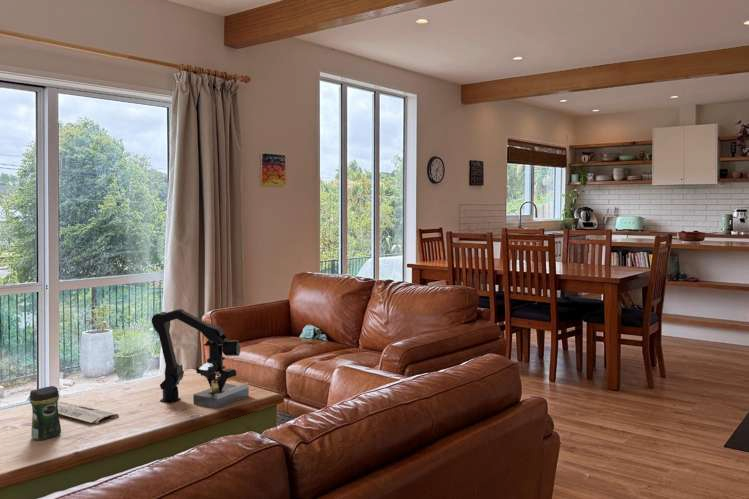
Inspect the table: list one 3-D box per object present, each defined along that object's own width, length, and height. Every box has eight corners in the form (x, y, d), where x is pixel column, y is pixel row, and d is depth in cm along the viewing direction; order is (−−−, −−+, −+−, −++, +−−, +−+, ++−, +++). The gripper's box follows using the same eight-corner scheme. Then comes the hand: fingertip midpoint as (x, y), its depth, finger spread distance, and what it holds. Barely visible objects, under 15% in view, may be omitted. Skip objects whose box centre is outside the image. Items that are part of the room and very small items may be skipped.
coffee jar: (54, 430, 246) (52, 383, 245) (64, 435, 241) (62, 386, 240) (28, 437, 239) (26, 388, 237) (37, 442, 234) (35, 392, 233)
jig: (193, 403, 279) (193, 389, 279) (225, 391, 296) (225, 378, 296) (217, 408, 272) (217, 394, 272) (248, 396, 290) (248, 383, 289)
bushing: (209, 395, 281) (208, 379, 280) (216, 392, 284) (216, 377, 284) (216, 397, 279) (216, 381, 278) (223, 394, 282) (223, 378, 282)
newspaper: (118, 418, 262) (118, 409, 262) (92, 427, 251) (92, 418, 251) (61, 405, 278) (61, 397, 278) (35, 413, 267) (34, 405, 267)
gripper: (186, 356, 278) (187, 392, 279) (218, 362, 269) (219, 398, 270) (205, 351, 288) (205, 385, 289) (236, 356, 278) (237, 391, 279)
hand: (216, 390), depth 281 cm, fingers closed on bushing, 4 cm apart
